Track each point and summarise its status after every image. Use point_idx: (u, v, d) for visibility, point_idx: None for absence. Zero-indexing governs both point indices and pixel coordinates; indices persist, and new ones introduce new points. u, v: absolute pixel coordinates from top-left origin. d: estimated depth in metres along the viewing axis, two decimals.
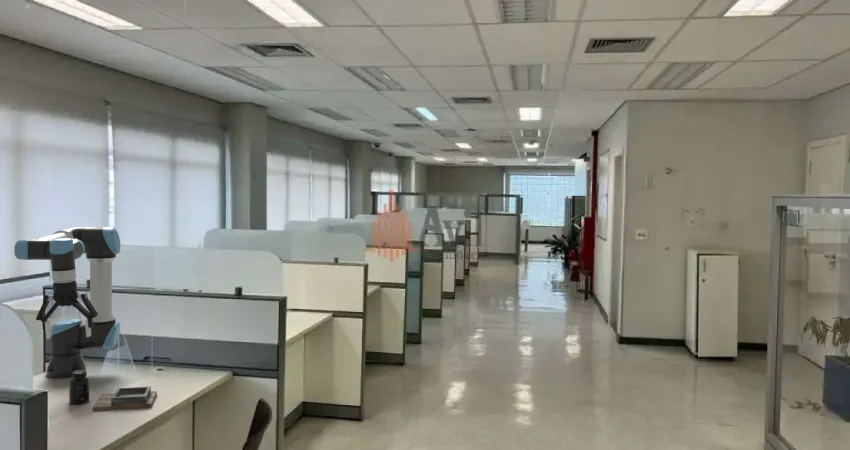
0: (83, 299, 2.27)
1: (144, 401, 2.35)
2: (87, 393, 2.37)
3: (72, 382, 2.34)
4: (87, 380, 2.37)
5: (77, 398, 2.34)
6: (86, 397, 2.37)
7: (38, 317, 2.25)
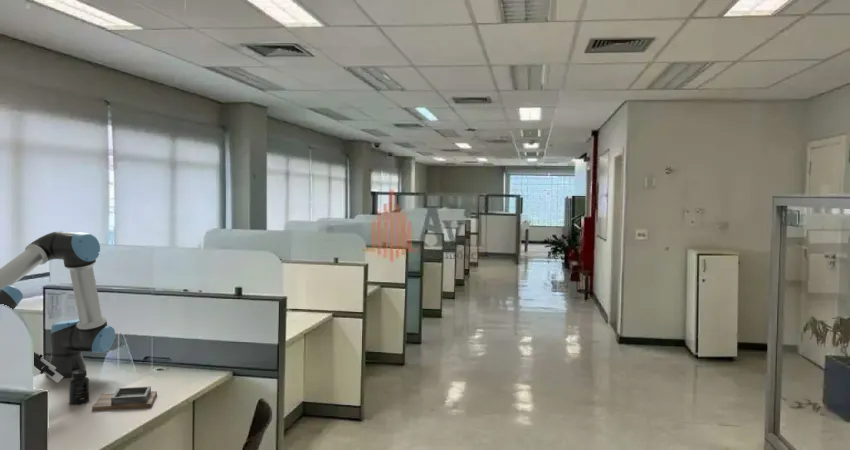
0: None
1: (144, 401, 2.35)
2: (87, 393, 2.37)
3: (72, 382, 2.34)
4: (87, 380, 2.37)
5: (77, 398, 2.34)
6: (86, 397, 2.37)
7: None
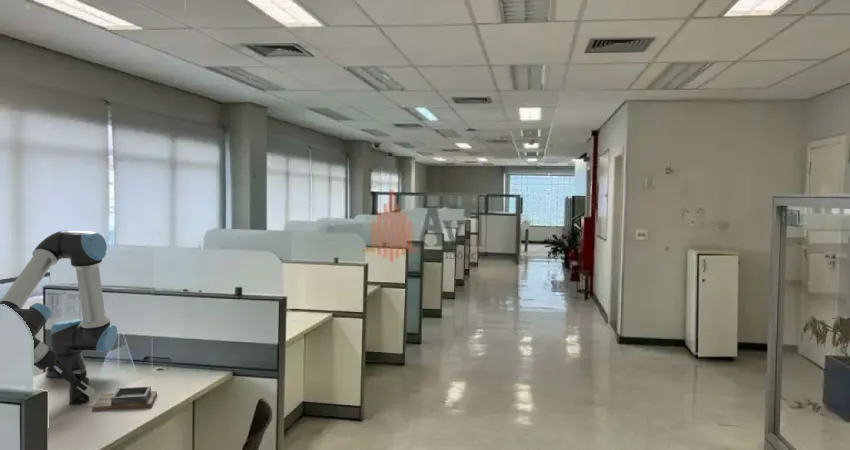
0: (58, 374, 2.27)
1: (144, 401, 2.35)
2: None
3: None
4: (87, 380, 2.37)
5: (77, 398, 2.34)
6: (86, 397, 2.37)
7: None
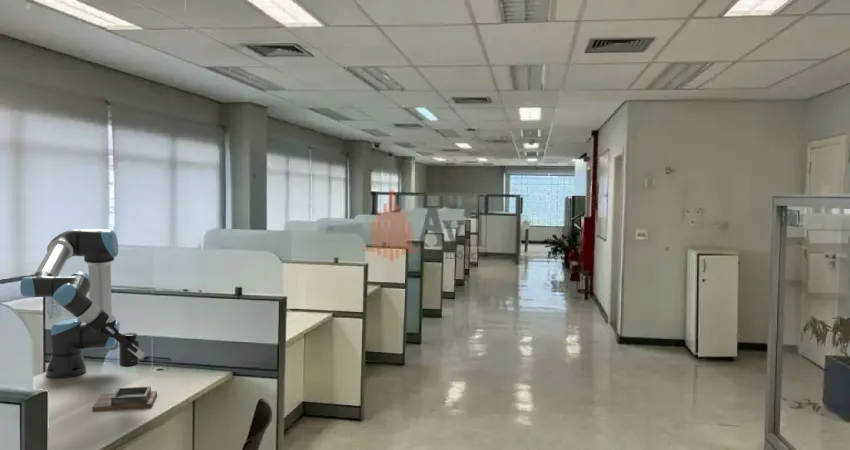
0: (111, 335, 2.28)
1: (144, 401, 2.35)
2: None
3: None
4: (137, 343, 2.37)
5: (127, 360, 2.35)
6: (137, 360, 2.37)
7: None
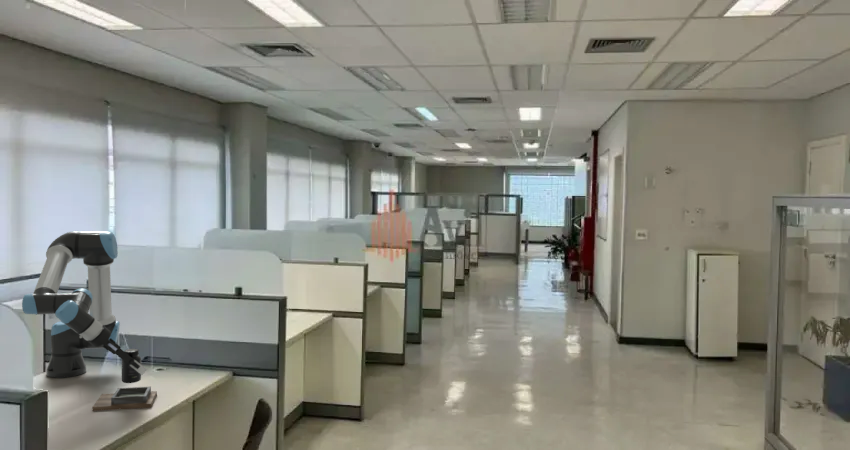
0: (113, 352, 2.28)
1: (144, 401, 2.35)
2: None
3: None
4: (139, 359, 2.38)
5: (129, 376, 2.35)
6: (139, 376, 2.37)
7: (118, 356, 2.41)
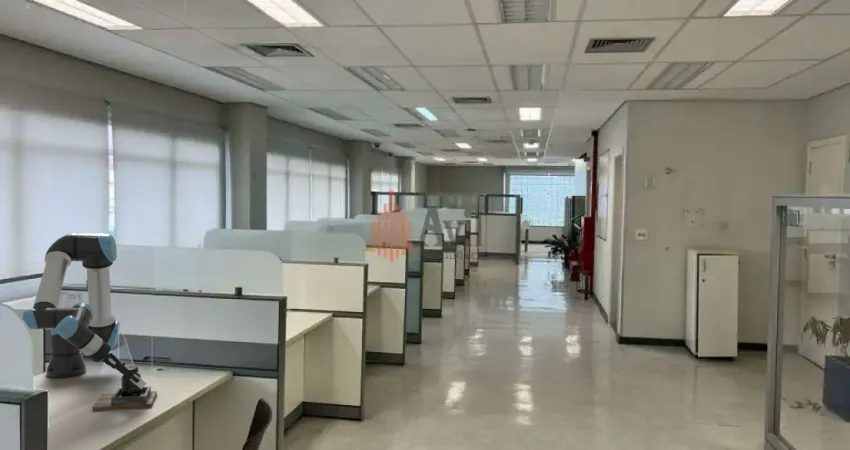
0: (112, 366, 2.28)
1: (144, 401, 2.35)
2: (139, 389, 2.39)
3: (125, 378, 2.36)
4: (139, 376, 2.39)
5: (129, 394, 2.36)
6: (138, 393, 2.38)
7: None
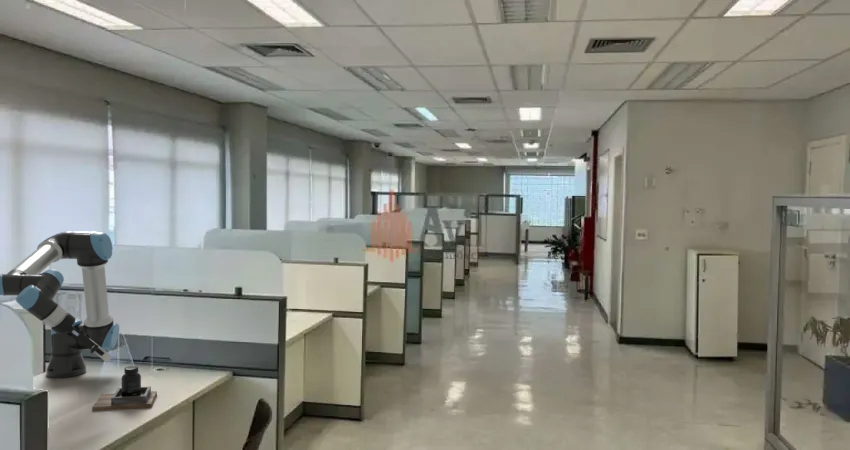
0: (75, 337, 2.20)
1: (144, 401, 2.35)
2: (139, 389, 2.39)
3: (125, 378, 2.36)
4: (139, 376, 2.39)
5: (129, 394, 2.36)
6: (138, 393, 2.38)
7: None
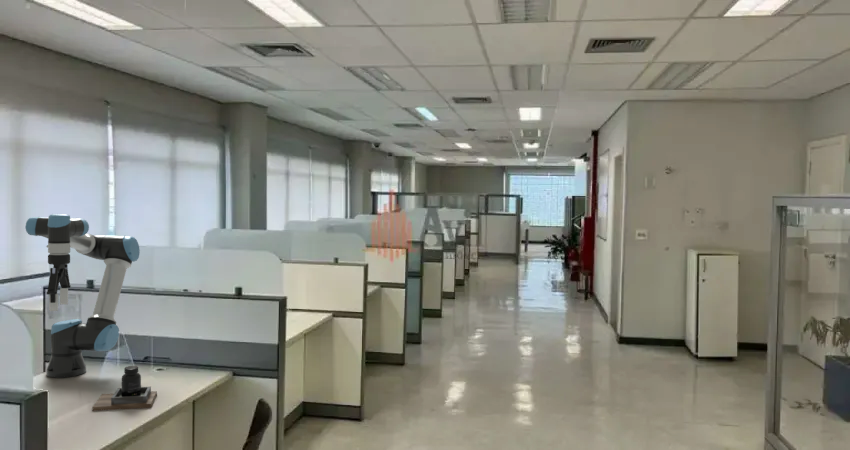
0: None
1: (144, 401, 2.35)
2: (139, 389, 2.39)
3: (125, 378, 2.36)
4: (139, 376, 2.39)
5: (129, 394, 2.36)
6: (138, 393, 2.38)
7: None
